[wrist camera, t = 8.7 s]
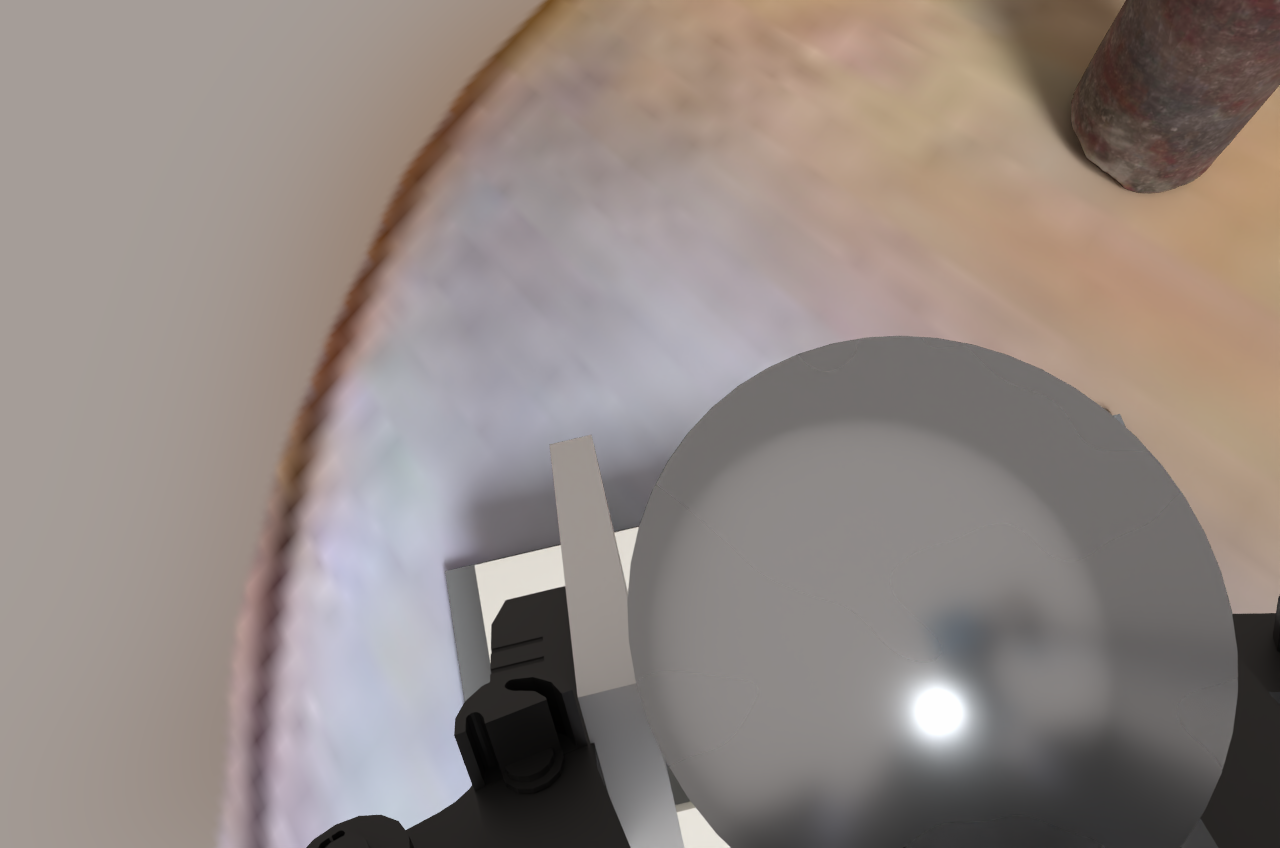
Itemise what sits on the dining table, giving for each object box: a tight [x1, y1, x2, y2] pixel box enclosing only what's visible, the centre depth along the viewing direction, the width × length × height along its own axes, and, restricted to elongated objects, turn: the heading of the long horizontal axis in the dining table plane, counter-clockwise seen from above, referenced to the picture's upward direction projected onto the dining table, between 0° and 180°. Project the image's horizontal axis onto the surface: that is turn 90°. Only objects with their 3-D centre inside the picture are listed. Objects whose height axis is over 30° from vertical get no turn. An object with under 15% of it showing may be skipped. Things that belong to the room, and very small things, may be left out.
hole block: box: [474, 527, 731, 848], centre depth 33 cm, size 14×14×4 cm
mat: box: [445, 414, 1125, 805], centre depth 35 cm, size 30×16×1 cm, turn 103°
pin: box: [627, 336, 1238, 848], centre depth 12 cm, size 4×4×14 cm
